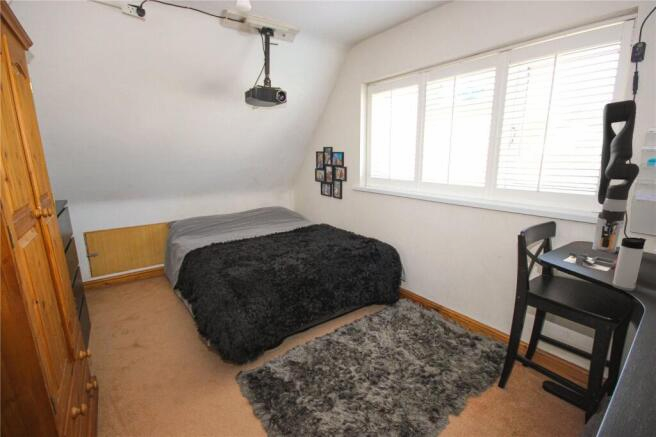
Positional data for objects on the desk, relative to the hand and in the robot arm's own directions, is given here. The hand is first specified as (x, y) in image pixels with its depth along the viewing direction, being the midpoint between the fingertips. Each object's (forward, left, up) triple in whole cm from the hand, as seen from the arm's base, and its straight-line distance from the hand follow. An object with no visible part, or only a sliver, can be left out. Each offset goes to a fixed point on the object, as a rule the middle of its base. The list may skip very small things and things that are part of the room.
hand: (606, 246), depth 140 cm
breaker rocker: (+7, -6, -6) cm, 11 cm away
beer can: (+12, +10, -10) cm, 18 cm away
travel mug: (+22, +12, -10) cm, 27 cm away
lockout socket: (0, 0, -8) cm, 8 cm away
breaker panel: (+3, -4, -10) cm, 11 cm away
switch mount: (+7, -6, -8) cm, 12 cm away
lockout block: (0, 0, -1) cm, 1 cm away
